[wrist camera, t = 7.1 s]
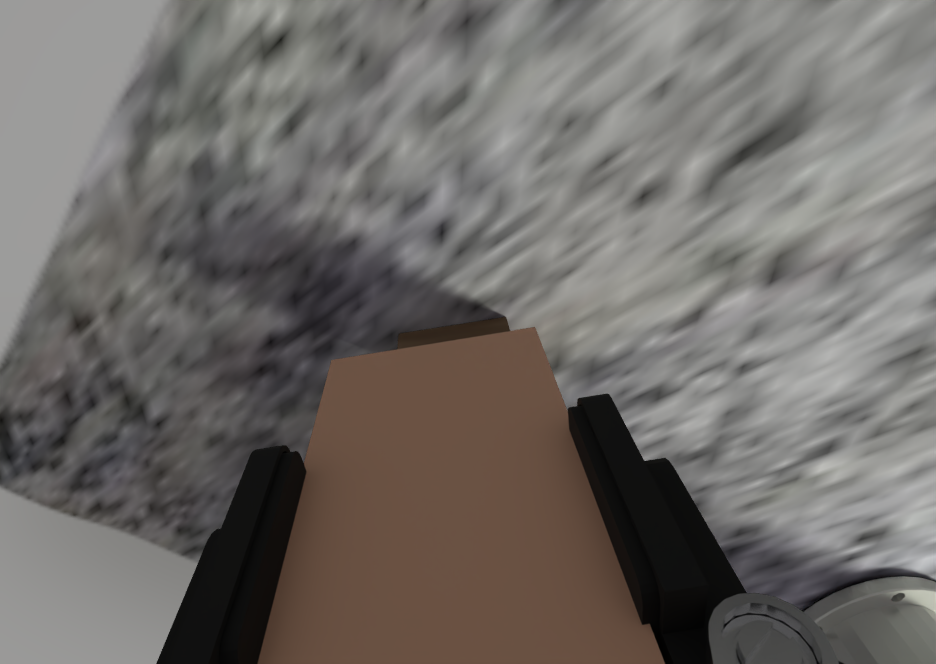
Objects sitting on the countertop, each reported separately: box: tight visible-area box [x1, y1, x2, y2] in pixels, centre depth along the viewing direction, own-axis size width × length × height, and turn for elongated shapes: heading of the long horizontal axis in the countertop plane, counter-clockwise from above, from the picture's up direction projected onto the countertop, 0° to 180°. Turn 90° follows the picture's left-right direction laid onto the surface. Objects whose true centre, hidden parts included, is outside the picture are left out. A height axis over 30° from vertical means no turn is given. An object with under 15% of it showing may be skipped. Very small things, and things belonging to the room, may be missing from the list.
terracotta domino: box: [258, 327, 665, 664], centre depth 9 cm, size 2×5×10 cm, turn 98°
